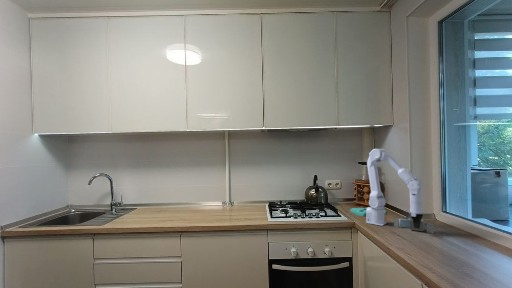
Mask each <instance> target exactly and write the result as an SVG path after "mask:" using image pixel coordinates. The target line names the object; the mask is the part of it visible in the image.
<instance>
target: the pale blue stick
mask: <svg viewBox="0 0 512 288" xmlns="http://www.w3.org/2000/svg"><path fill="white" fill-rule="evenodd" d="M400 219H401V228H410V229H411V224H410V219H411V218H408V219H407V218H400ZM422 220H423V224H424V225H425V220H424V219H422Z"/></svg>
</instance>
